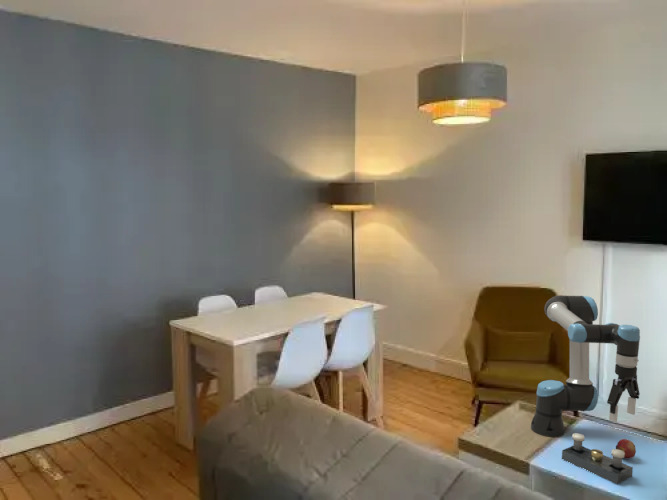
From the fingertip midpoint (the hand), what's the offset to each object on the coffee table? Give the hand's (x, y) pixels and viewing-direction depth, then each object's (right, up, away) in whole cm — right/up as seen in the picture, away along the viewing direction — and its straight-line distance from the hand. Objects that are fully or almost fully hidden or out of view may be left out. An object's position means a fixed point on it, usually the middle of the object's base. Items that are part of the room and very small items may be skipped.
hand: (622, 417), depth 217 cm
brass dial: (-6, -20, +9) cm, 22 cm away
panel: (-6, -24, +9) cm, 26 cm away
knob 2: (-1, -20, +2) cm, 20 cm away
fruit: (+11, -23, +18) cm, 32 cm away
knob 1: (-11, -18, +16) cm, 26 cm away
